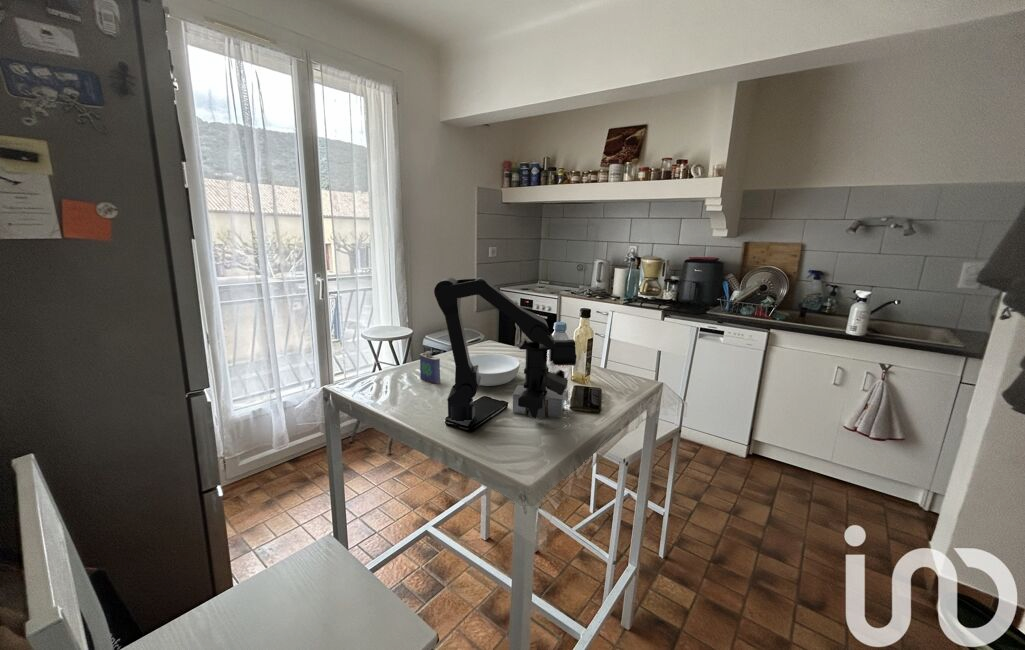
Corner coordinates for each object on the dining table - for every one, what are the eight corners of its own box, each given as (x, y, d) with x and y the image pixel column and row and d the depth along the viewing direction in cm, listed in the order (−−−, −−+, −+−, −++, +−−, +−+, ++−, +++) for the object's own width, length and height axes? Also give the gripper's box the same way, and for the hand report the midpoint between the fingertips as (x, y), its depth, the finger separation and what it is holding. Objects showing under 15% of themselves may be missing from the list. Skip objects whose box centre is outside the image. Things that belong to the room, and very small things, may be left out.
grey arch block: (512, 412, 117) (513, 394, 116) (517, 402, 124) (517, 384, 122) (561, 418, 114) (562, 399, 113) (563, 407, 121) (564, 389, 120)
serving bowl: (521, 371, 150) (522, 354, 148) (516, 395, 130) (517, 374, 128) (466, 369, 152) (466, 351, 150) (452, 391, 132) (452, 371, 130)
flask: (442, 382, 138) (441, 352, 136) (435, 385, 136) (434, 355, 133) (424, 376, 144) (423, 347, 141) (417, 378, 142) (416, 349, 139)
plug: (528, 416, 115) (528, 402, 114) (534, 396, 129) (535, 384, 128) (544, 418, 115) (544, 404, 114) (548, 397, 128) (549, 385, 127)
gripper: (563, 379, 98) (560, 438, 101) (568, 355, 115) (566, 406, 119) (518, 375, 100) (517, 433, 104) (530, 352, 117) (528, 402, 121)
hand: (534, 417), depth 112 cm, fingers closed
